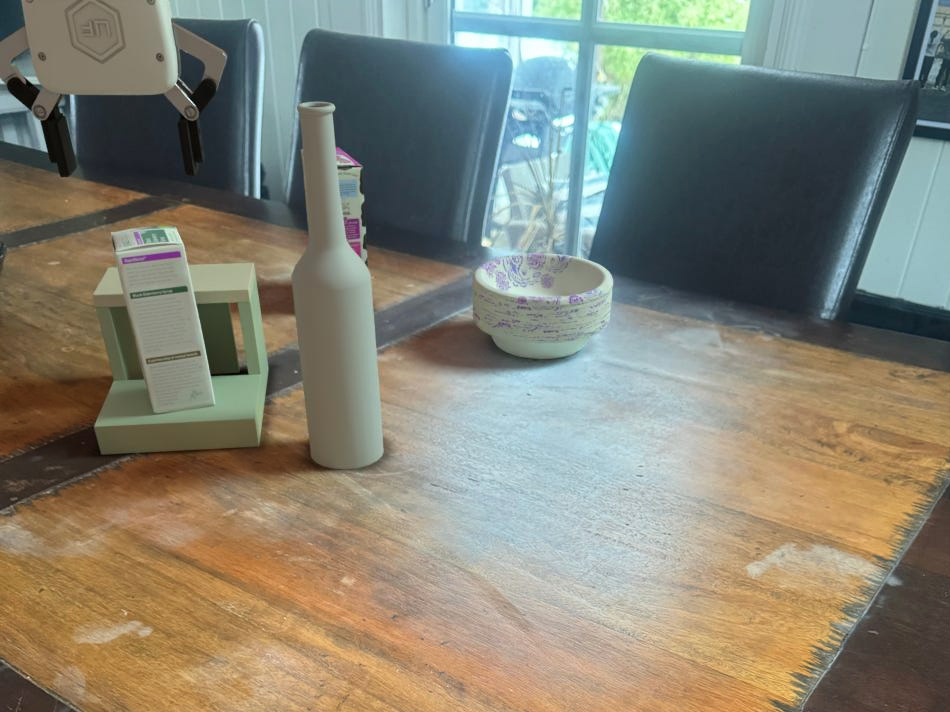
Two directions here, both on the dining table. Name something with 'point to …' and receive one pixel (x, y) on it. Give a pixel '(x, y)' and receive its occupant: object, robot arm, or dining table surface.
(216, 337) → the shelf
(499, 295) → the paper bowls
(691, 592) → the dining table surface
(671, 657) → the dining table surface
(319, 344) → the bottle
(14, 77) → the robot arm
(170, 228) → the syrup box
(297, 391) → the dining table surface
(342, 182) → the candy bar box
